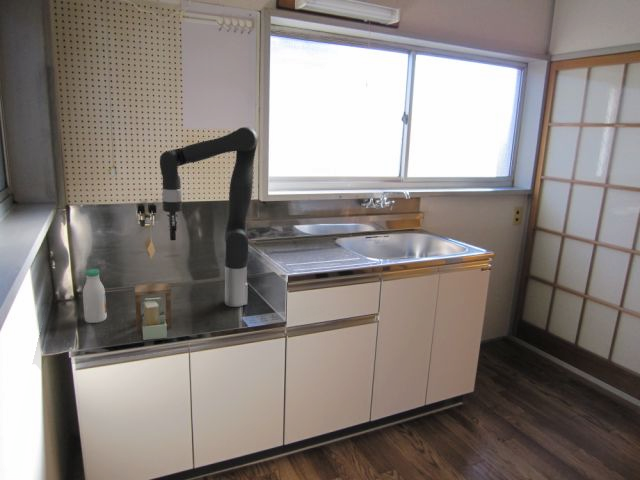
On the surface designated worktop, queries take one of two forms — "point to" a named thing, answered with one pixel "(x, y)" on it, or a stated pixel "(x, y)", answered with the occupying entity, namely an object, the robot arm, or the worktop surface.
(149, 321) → the skincare box
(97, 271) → the milk bottle
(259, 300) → the worktop surface
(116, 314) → the worktop surface
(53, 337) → the worktop surface
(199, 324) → the worktop surface
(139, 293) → the tunnel
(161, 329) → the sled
